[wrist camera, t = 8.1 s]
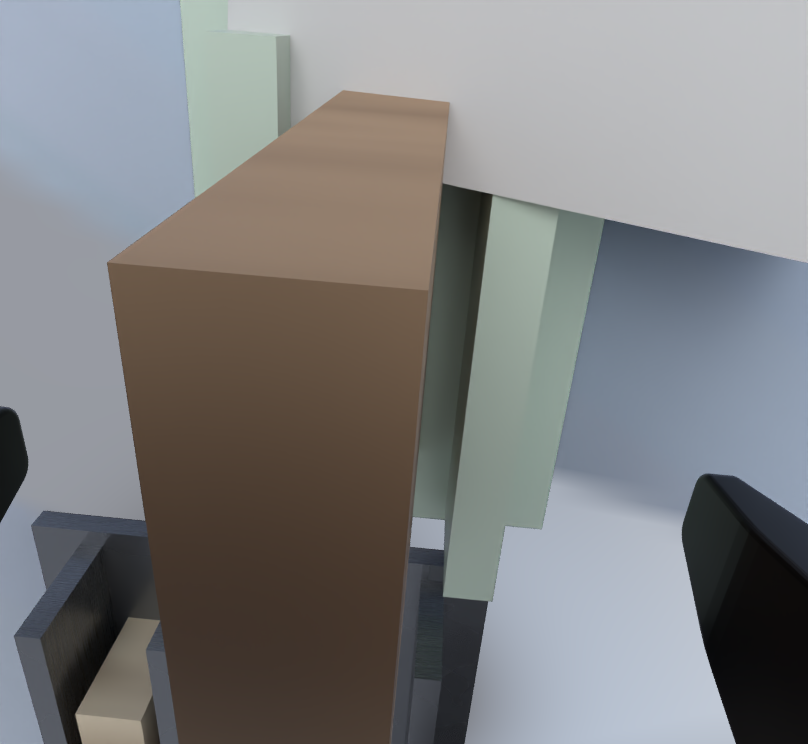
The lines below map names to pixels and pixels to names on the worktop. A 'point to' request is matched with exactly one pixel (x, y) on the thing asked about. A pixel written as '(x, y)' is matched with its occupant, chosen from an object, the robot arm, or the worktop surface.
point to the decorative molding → (586, 101)
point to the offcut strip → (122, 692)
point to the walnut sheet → (287, 421)
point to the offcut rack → (136, 597)
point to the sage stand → (438, 308)
